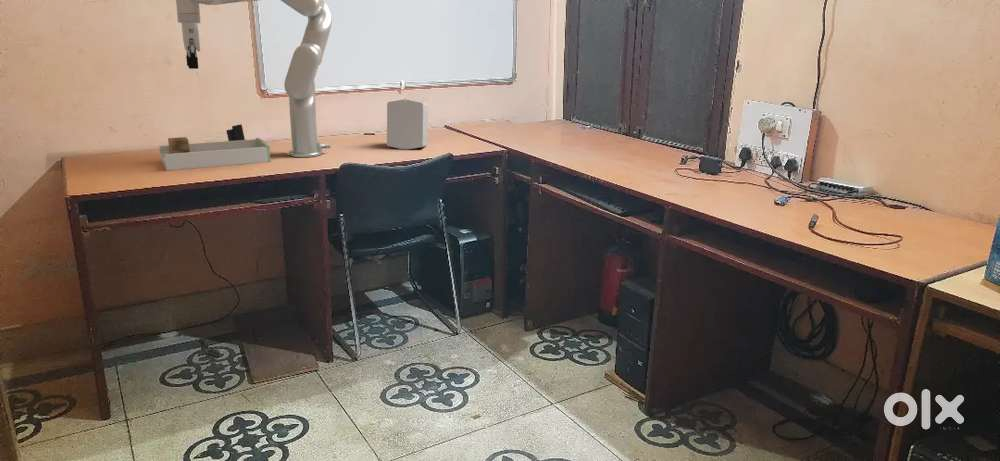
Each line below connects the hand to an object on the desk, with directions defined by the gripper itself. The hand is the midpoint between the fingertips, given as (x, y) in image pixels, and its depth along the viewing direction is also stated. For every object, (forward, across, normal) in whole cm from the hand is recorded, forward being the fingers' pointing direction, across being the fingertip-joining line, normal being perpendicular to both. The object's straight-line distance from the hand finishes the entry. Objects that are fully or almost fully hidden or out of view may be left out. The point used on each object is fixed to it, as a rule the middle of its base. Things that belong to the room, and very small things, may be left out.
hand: (192, 67), depth 263 cm
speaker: (+32, +5, -14) cm, 36 cm away
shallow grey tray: (+32, -14, -4) cm, 35 cm away
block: (+30, -11, +7) cm, 33 cm away
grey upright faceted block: (+31, -9, -80) cm, 86 cm away
